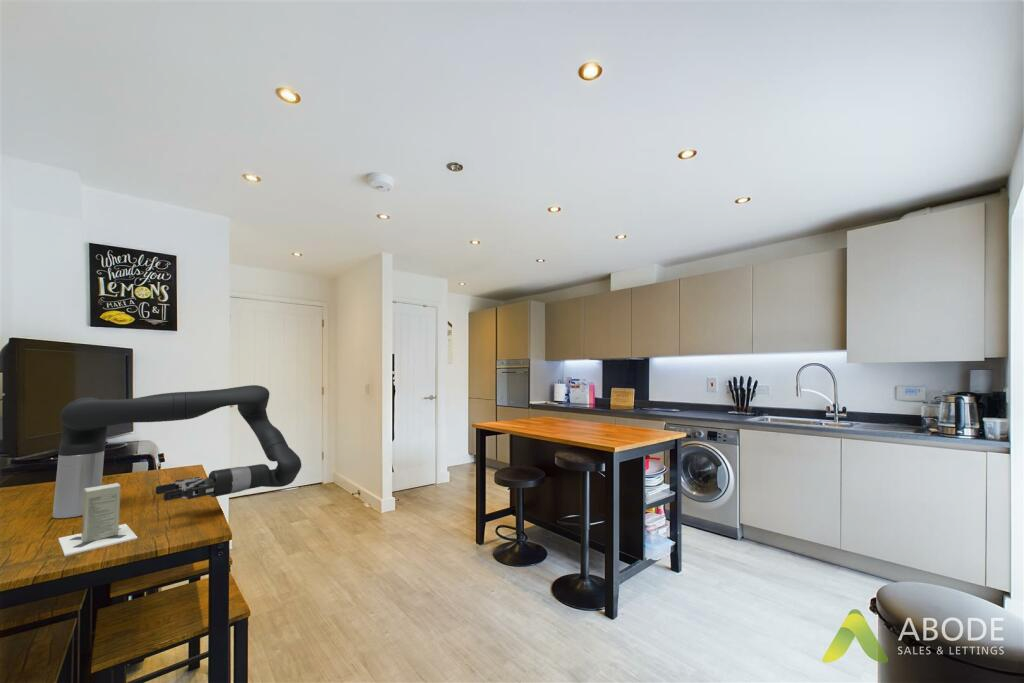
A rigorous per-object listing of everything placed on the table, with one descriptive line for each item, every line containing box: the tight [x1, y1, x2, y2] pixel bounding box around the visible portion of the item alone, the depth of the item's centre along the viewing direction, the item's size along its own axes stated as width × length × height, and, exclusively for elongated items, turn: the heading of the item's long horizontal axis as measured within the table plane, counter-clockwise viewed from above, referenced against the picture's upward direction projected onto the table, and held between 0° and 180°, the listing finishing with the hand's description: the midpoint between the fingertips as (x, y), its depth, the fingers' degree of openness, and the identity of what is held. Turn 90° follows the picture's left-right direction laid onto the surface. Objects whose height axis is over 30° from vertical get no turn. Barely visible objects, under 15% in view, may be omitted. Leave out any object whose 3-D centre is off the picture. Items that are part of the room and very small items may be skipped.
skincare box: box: [80, 482, 122, 543], centre depth 98 cm, size 6×4×12 cm
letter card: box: [58, 523, 138, 557], centre depth 98 cm, size 14×12×1 cm
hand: (159, 493), depth 107 cm, fingers open, 8 cm apart
